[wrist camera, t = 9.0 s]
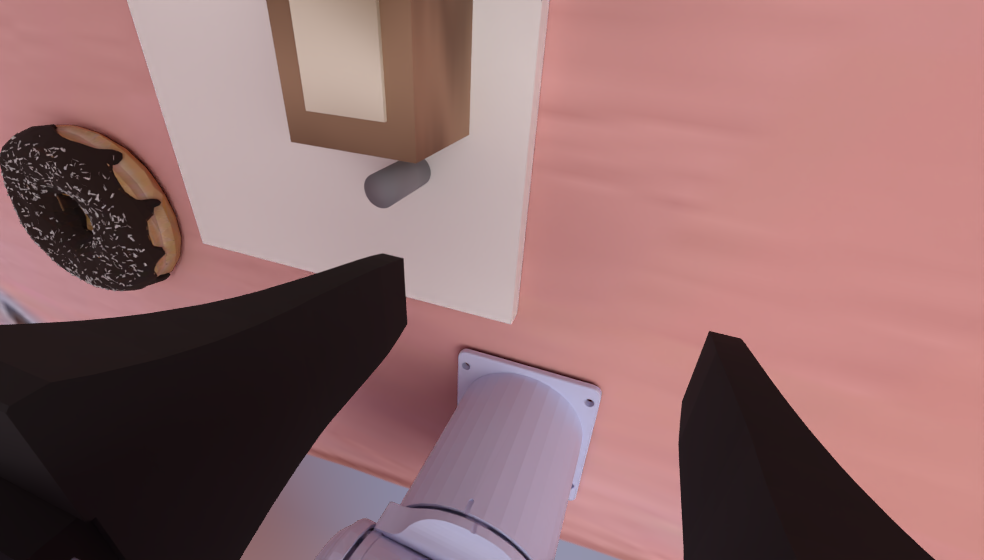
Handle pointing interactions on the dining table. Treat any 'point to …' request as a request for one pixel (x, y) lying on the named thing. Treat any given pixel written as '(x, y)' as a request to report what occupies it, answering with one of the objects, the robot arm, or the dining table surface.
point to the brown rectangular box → (375, 73)
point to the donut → (91, 206)
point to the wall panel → (351, 156)
